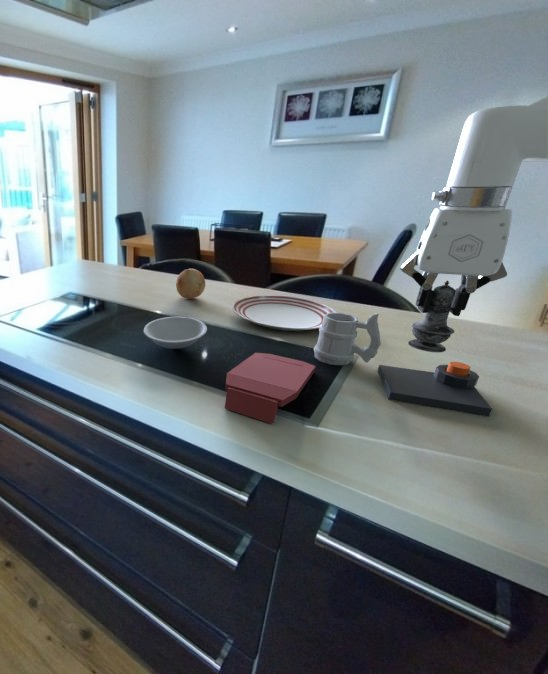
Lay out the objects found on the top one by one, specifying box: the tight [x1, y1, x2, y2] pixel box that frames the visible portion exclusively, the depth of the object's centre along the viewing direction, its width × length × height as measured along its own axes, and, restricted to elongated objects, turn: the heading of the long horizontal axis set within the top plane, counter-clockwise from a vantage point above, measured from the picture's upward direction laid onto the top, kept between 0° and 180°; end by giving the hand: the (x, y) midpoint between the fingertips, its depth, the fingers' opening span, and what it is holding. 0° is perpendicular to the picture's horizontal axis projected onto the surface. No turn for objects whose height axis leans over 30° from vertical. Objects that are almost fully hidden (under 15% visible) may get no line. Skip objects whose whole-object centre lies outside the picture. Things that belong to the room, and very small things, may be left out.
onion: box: [175, 268, 206, 300], centre depth 131 cm, size 10×10×10 cm
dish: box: [143, 316, 208, 350], centre depth 94 cm, size 18×14×5 cm
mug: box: [313, 312, 382, 366], centre depth 83 cm, size 8×12×12 cm, turn 47°
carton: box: [224, 352, 316, 424], centre depth 76 cm, size 12×5×25 cm
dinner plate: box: [231, 294, 338, 332], centre depth 110 cm, size 27×27×3 cm
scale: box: [376, 364, 493, 418], centre depth 72 cm, size 14×12×4 cm
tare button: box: [446, 361, 471, 376], centre depth 72 cm, size 3×3×2 cm
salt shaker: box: [407, 280, 455, 353], centre depth 67 cm, size 6×6×12 cm
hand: (438, 311), depth 67 cm, fingers closed on salt shaker, 3 cm apart
